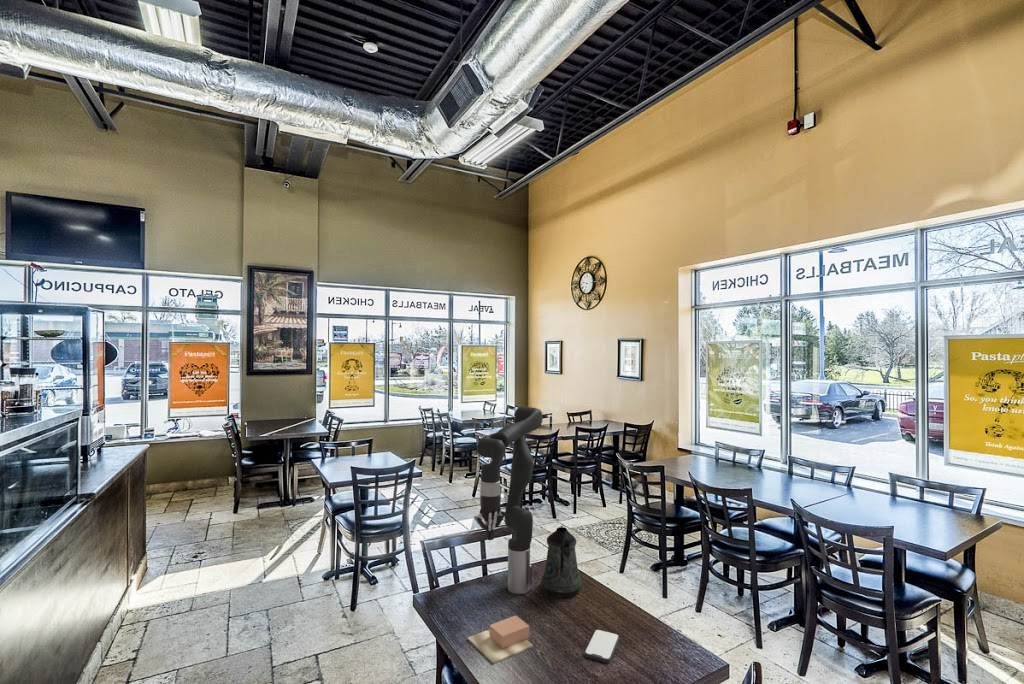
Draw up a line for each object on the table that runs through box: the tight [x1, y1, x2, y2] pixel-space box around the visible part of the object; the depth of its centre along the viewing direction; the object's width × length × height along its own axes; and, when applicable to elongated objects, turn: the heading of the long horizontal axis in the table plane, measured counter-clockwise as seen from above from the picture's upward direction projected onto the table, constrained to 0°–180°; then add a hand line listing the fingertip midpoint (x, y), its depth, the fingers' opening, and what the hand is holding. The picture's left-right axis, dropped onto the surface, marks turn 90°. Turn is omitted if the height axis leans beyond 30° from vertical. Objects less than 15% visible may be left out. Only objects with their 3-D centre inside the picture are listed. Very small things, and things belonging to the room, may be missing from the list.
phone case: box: [583, 629, 620, 664], centre depth 164 cm, size 9×2×16 cm
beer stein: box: [541, 526, 582, 599], centre depth 203 cm, size 16×19×25 cm
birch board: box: [467, 628, 534, 665], centre depth 166 cm, size 16×16×1 cm
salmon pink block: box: [489, 615, 530, 649], centre depth 168 cm, size 4×8×11 cm
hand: (490, 539), depth 181 cm, fingers closed
